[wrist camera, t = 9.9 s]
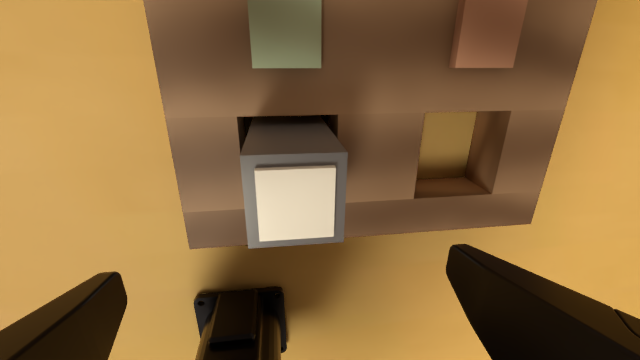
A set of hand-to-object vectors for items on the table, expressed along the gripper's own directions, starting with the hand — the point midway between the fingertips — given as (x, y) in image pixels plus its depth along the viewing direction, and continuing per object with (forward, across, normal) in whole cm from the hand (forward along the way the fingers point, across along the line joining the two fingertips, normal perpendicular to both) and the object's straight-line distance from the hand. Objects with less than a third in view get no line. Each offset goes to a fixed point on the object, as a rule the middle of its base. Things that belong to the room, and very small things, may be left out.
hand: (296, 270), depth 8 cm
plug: (+12, 0, 0) cm, 12 cm away
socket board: (+12, -5, -2) cm, 13 cm away
